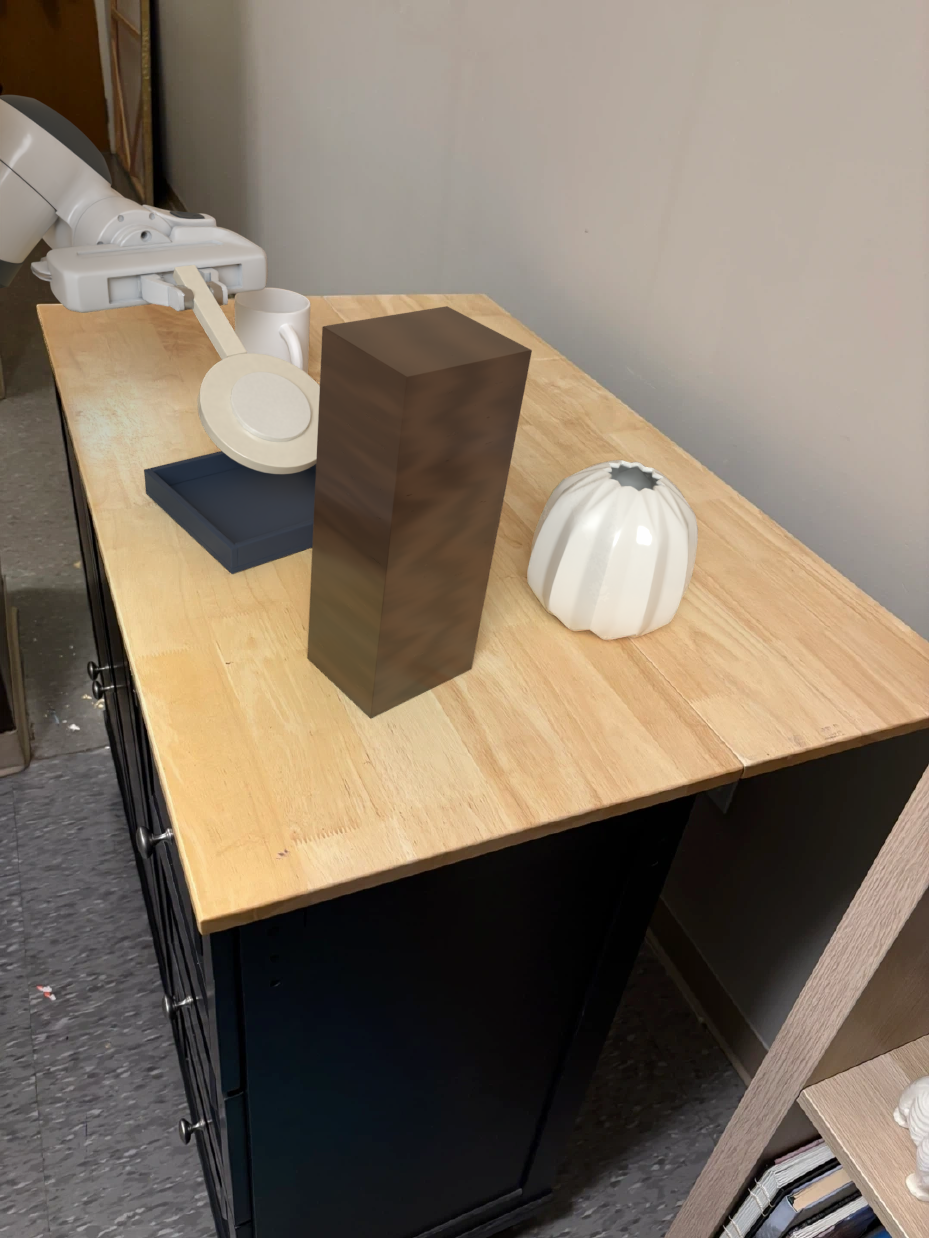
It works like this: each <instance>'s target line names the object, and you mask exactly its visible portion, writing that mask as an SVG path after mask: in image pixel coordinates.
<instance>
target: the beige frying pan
mask: <svg viewBox="0 0 929 1238" xmlns="http://www.w3.org/2000/svg"><path fill="white" fill-rule="evenodd" d="M173 278H174V280H175V282H176V283H177V285H184V286H186V287H187V288H189V289H191V290H192V292H193V295H194V299H193V303H194V308H193V309H191V311H192V312H193V314H194V316H195V317H196V319H197V321H198V322H199V324H200V325H201V326H200V327H202V329H203V331H204V332H205V334H206V336H207V338H208V339H209V341H210V342H211V344H212V346H213V347H214V349H215V351H216V353H217V354H218V356H219V358H220V360H219V361H218V362H216V363H215V364H214V365H212V366H211V367H210V368H209V369H208V371H207V372H206V373H205V375H204V377H203V379H202V381H201V383H200V387H199V390H198V393H197V400H196V401H197V402H196V407H197V413H198V417H199V420H200V423H201V426H202V427H203V430H204V432H205V433H206V435H207V436H208V438H209V439H210V441H212V443H213V444H214V445H215V446H216V447H217V448H218V449H219V451H222V452H223V453H225V454H226V455H227V456H229V457H230V458H231V459H233V460H235V461H236V462H238V463H240V464H242V465H244V466H246V467H248V468H251V469H254V470H257V471H260V472H264V473H271V474H292V473H297V472H300V471H303V470H306V469H308V468H310V467H312V466H314V465H315V464H316V457H317V435H318V413H319V392H320V384H319V383H318V382H317V381H316V380H315V379H314V378H313V377H312V376H311V375H309V373H308V374H307V373H305V372H304V371H303V370H301V369H300V368H298V367H297V366H295V365H293V364H291V363H289V362H287V361H285V360H282V359H280V358H277V357H273V356H269V355H265V354H256V353H247V351H246V349H245V348H244V346H243V344H242V343H241V341H240V339H239V338H238V336H237V334H236V333H235V328H233V326H232V324H231V322H230V321H229V319H228V317H227V316H226V314H225V313H224V310H222V308H221V306H219V304H218V303H217V301H216V299H215V298H214V296H213V294H212V293H211V291H210V289H209V288H208V286H207V284H206V283H205V281H204V279H203V278H202V276H201V274H200V273H199V271H198V269H197V268H196V266H195V265H189V266H181V267H175V269H174V273H173Z"/></svg>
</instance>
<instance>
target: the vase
mask: <svg viewBox="0 0 929 1238" xmlns="http://www.w3.org/2000/svg"><path fill="white" fill-rule="evenodd" d="M698 526H699V525H698V521H697V517H696V512H695V511H694V509H692V507H691V505H690V503H689V502H688V501H687V499H686V498H685V495H684V494H683V492H682V491H681V490H680V489H679V487H678V486H677V485H676V484H675V483H674V482H673V481H672V480H670V479H669V478H668V477H667V476H666V475H665V474H664V473H662V472H661V471H660V470H659V469H657V468H654V467H651V466H646V465H645V464H643V463H642V462H639V461H631V462H630V461H627V460H623V459H613V460H609V461H604V462H598V463H597V462H596V463H593V464H591V465H589V466H586V467H585V468H583V469H581V470H578V471H577V472H574V473H572V474H570V475H568V476H567V477H564V478H562V480H561V481H560V482H559V483H558V484H557V485H556V486H555V488H553V490H552V492H551V493H550V495H549V497H548V498H547V501H546V502H545V505H544V507H543V509H542V512H541V514H540V516H539V518H538V520H537V523H536V527H535V530H534V531H533V536H532V541H531V546H530V557H529V561H528V566H527V571H526V575H527V576H526V577H527V578H526V579H527V580H526V581H527V582H526V583H527V585H528V586H529V588H530V589H531V591H532V592H533V594H534V596H535V597H536V598H537V600H538V602H539V603H540V605H541V606H542V607H543V609H544V610H545V611H546V612H547V614H550V615H551V616H554V617H556V618H557V619H558V620H559V621H560V622H561V623H562V624H563V625H564V626H565V627H566V628H568V629H569V630H570V631H572V632H582V631H590V632H591V633H593V634H595V635H596V636H597V637H598V638H600V639H601V640H603V641H611V640H617V639H622V638H626V637H627V638H632V639H636V638H639V637H643V636H644V635H648V634H649V633H651V632H654V631H656V630H658V629H660V628H663V627H665V626H667V625H670V624H671V622H672V621H673V619H674V617H675V615H676V614H677V612H678V609H679V606H680V603H681V601H682V600H683V598H684V597H685V594H686V592H687V590H688V589H689V585H690V584H691V581H692V577H693V574H694V569H695V563H696V559H697V551H698V544H699V543H698V542H699V540H698V538H699V527H698Z"/></svg>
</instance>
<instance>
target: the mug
mask: <svg viewBox="0 0 929 1238" xmlns="http://www.w3.org/2000/svg"><path fill="white" fill-rule="evenodd" d="M311 304H312V303H311V301H310V300H309V298H308V297H307V296H305V295H303V294H301V293H299V292H296V291H293V290H289V289H284V288H279V287H267V286H266V287H265V288H264V289H263V290H260V291H250V292H243V293H235V295H234V331H235V333H236V334H237V336H238V338H239V339H240V341H241V343H242V344H243V346H244V348H245V349H246V351H247V353H256V354H265V355H269V356H273V357H277V358H280V359H282V360H285V361H287V362H289V363H291V364H293V365H295V366H297V367H298V368H300V369H301V370H303V371H304V372H305V373H307V374H308V375H309V359H310V358H309V356H310V355H309V353H310V333H311V330H310V329H311V309H312V308H311V307H312V306H311Z"/></svg>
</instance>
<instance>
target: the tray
mask: <svg viewBox="0 0 929 1238" xmlns="http://www.w3.org/2000/svg"><path fill="white" fill-rule="evenodd" d="M143 473H144V474H143V475H144V487H145V494H146V496H148V497H149V498H150V499H151V500H152V501H153V502H154V503H155V504H156V505H157V506H158V507H159V508H160V509H162V511H164V512H165V513H166V514H167V515H168V516H169V517H170V518H171V519H172V520H173V521H174V522H175V523H176V524H178V525H179V527H181V529H183V530H184V531H185V532H186V533H187V534H188V535H189V536H190V537H191V538H192V539H193V540H195V541H196V542H197V543H198V544H199V546H201V547H202V548H203V549H204V550H205V551H206V552H207V553H208V554H210V556H211V557H212V558H214V559H215V560H216V561H217V562H218V563H219V564H220V565H221V566H222V567H223V568H224V569H225V570H227V571H228V572H229V573H230V574H231V575H234V574H237V573H240V572H244V571H246V570H249V569H252V568H255V567H258V566H261V565H264V564H267V563H270V562H274V561H276V560H279V559H282V558H284V557H289V556H291V555H293V554H297V553H300V552H303V551H307V550H309V549H312V544H313V522H314V500H315V479H316V464H315V465H314V466H312V467H310V468H308V469H306V470H303V471H300V472H297V473H292V474H271V473H264V472H260V471H257V470H254V469H251V468H248V467H246V466H244V465H242V464H240V463H238V462H236V461H235V460H233V459H231V458H230V457H229V456H227V455H226V454H225V453H223V452H222V451H221V450H219V451H215V452H210V453H207V454H202V455H199V456H194V457H191V458H185V459H182V460H177V461H174V462H173V461H172V462H170V463H169V462H168V463H166V464H165V463H164V464H160V465H157V466H152V467H149V468H145V469H143Z"/></svg>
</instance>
